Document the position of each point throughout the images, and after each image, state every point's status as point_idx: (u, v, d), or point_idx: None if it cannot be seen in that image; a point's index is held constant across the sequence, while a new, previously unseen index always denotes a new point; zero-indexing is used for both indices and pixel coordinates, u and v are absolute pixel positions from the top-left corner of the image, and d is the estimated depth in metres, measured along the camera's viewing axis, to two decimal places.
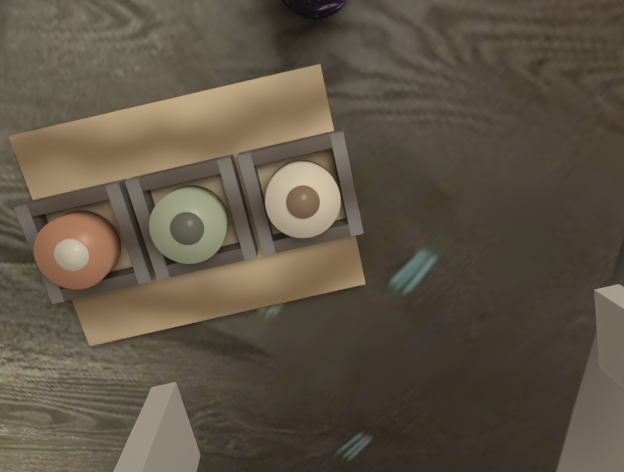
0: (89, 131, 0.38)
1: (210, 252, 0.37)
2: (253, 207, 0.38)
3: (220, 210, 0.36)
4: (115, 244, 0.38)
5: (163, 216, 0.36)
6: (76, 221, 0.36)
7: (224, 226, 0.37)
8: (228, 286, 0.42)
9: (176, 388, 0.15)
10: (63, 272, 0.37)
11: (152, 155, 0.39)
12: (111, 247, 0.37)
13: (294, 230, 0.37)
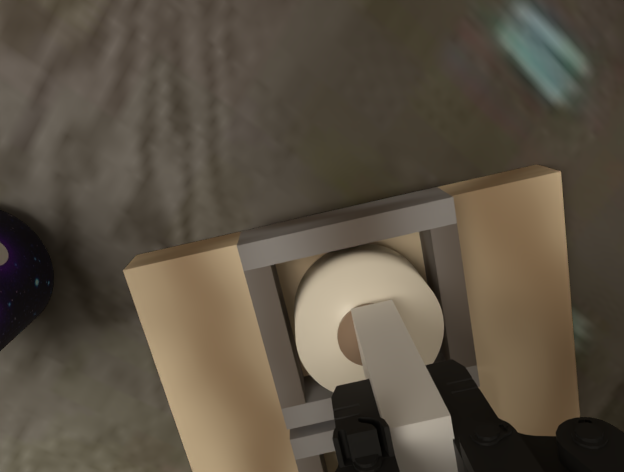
0: None
1: None
2: None
3: None
4: None
5: None
6: None
7: None
8: (527, 418, 0.23)
9: None
10: None
11: None
12: None
13: (426, 348, 0.19)
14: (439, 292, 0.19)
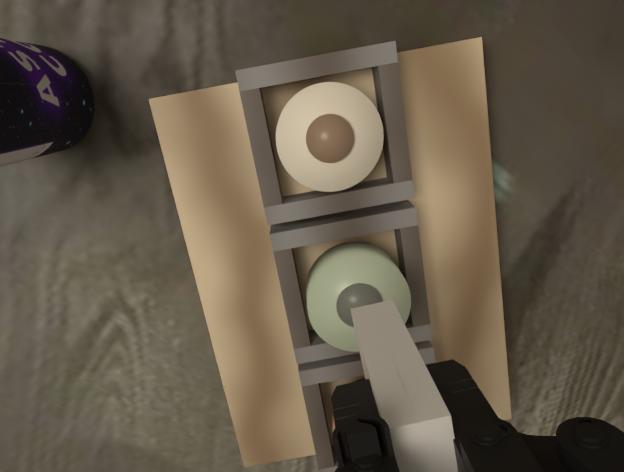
0: (239, 388, 0.32)
1: (397, 277, 0.26)
2: (341, 208, 0.27)
3: (337, 259, 0.26)
4: None
5: (340, 333, 0.27)
6: None
7: (361, 255, 0.26)
8: (456, 243, 0.30)
9: None
10: None
11: (269, 322, 0.31)
12: None
13: (370, 152, 0.26)
14: (384, 118, 0.26)
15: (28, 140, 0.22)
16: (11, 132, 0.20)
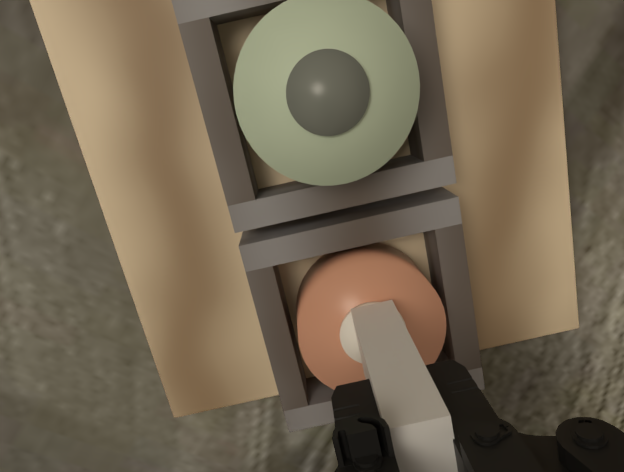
0: (155, 289, 0.20)
1: (393, 36, 0.14)
2: None
3: None
4: (360, 251, 0.19)
5: (297, 150, 0.15)
6: (304, 318, 0.18)
7: None
8: (490, 29, 0.18)
9: None
10: None
11: (193, 177, 0.19)
12: (363, 258, 0.18)
13: None
14: None
15: None
16: None
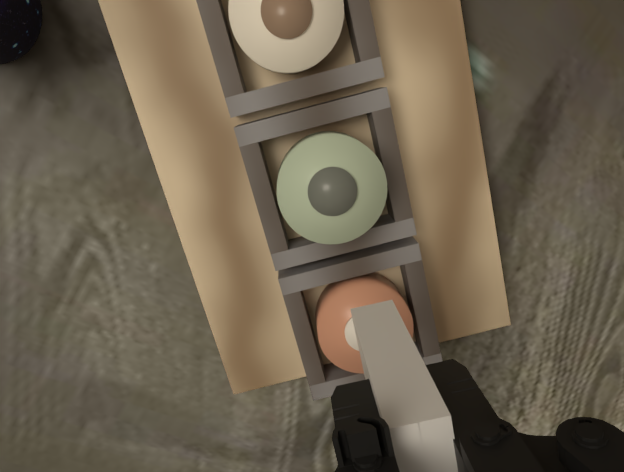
0: (220, 307, 0.31)
1: (370, 157, 0.24)
2: (307, 93, 0.25)
3: (305, 141, 0.24)
4: (356, 278, 0.29)
5: (315, 224, 0.25)
6: (321, 323, 0.28)
7: (329, 136, 0.24)
8: (436, 132, 0.28)
9: None
10: None
11: (245, 233, 0.29)
12: (358, 284, 0.28)
13: (331, 24, 0.24)
14: None
15: None
16: None
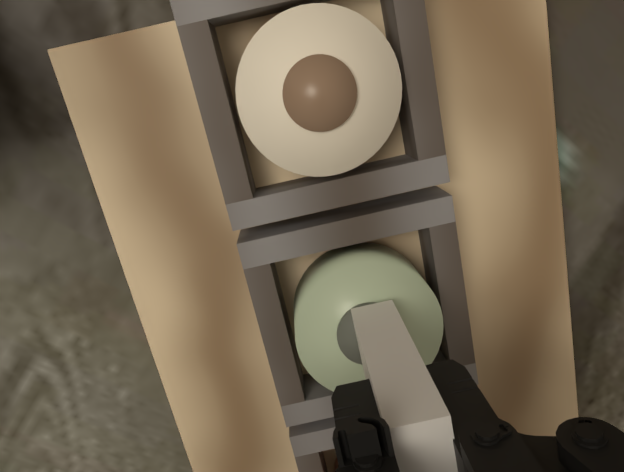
0: (210, 456, 0.23)
1: (423, 292, 0.18)
2: (341, 201, 0.18)
3: (336, 268, 0.18)
4: None
5: (344, 373, 0.19)
6: None
7: (369, 262, 0.18)
8: (506, 245, 0.21)
9: None
10: None
11: (247, 366, 0.22)
12: None
13: (383, 113, 0.17)
14: (402, 62, 0.17)
15: None
16: None
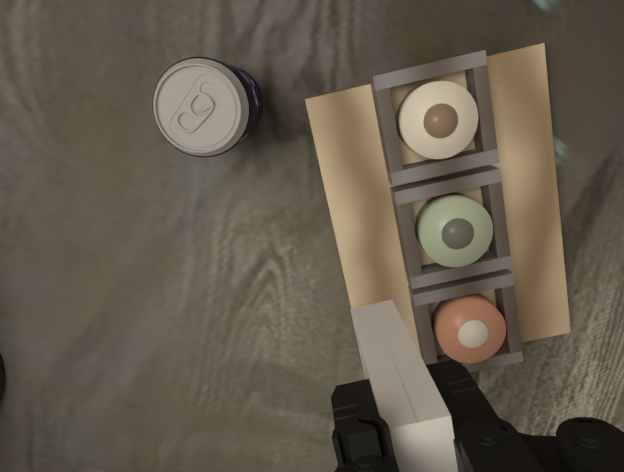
0: None
1: (483, 213, 0.38)
2: (446, 171, 0.38)
3: (442, 201, 0.38)
4: (466, 296, 0.41)
5: (444, 254, 0.39)
6: (442, 326, 0.40)
7: (458, 198, 0.38)
8: (527, 196, 0.40)
9: None
10: (488, 341, 0.41)
11: (387, 261, 0.42)
12: (469, 300, 0.40)
13: (469, 129, 0.36)
14: (477, 105, 0.36)
15: (249, 129, 0.33)
16: (250, 124, 0.31)
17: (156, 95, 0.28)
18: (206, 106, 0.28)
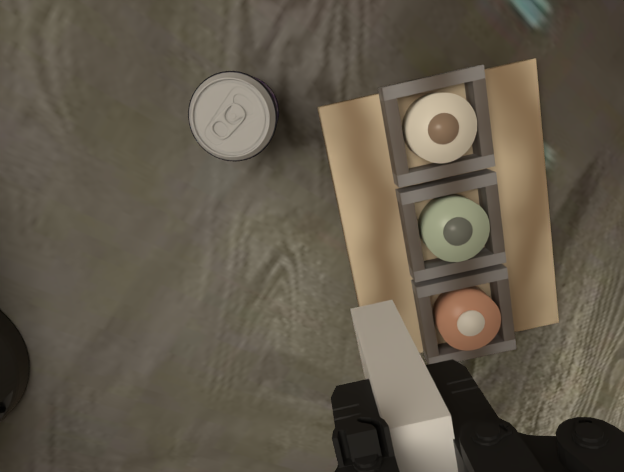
0: None
1: (481, 212, 0.42)
2: (447, 174, 0.41)
3: (444, 202, 0.41)
4: (464, 288, 0.45)
5: (445, 250, 0.42)
6: (443, 316, 0.44)
7: (459, 199, 0.41)
8: (519, 197, 0.44)
9: None
10: (484, 330, 0.45)
11: (392, 257, 0.45)
12: (467, 292, 0.44)
13: (469, 136, 0.40)
14: (476, 114, 0.40)
15: None
16: None
17: (194, 105, 0.31)
18: (238, 115, 0.32)
